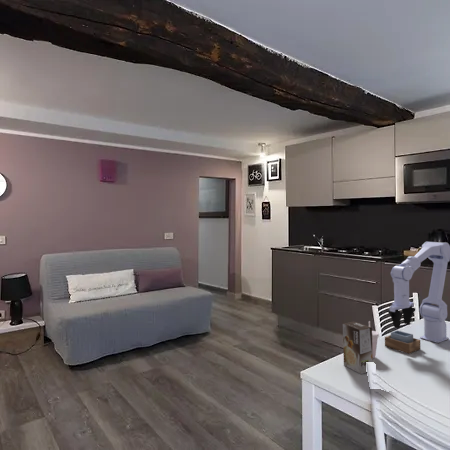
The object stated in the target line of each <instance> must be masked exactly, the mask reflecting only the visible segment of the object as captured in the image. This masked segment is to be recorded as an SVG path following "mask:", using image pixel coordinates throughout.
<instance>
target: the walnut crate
mask: <svg viewBox="0 0 450 450" xmlns="http://www.w3.org/2000/svg"><path fill="white" fill-rule="evenodd" d="M384 347H387V348H389V349H392V350H395V351H398V352H402V353H404V354H408V355H410V354H412V353H415V352H418V351H420V350H421V339H420V338H419V339H418V338H414V337H413V342H411V343H405V342H401V341H398V340H395V339H391V334H390V335H386V336H384Z"/></svg>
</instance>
